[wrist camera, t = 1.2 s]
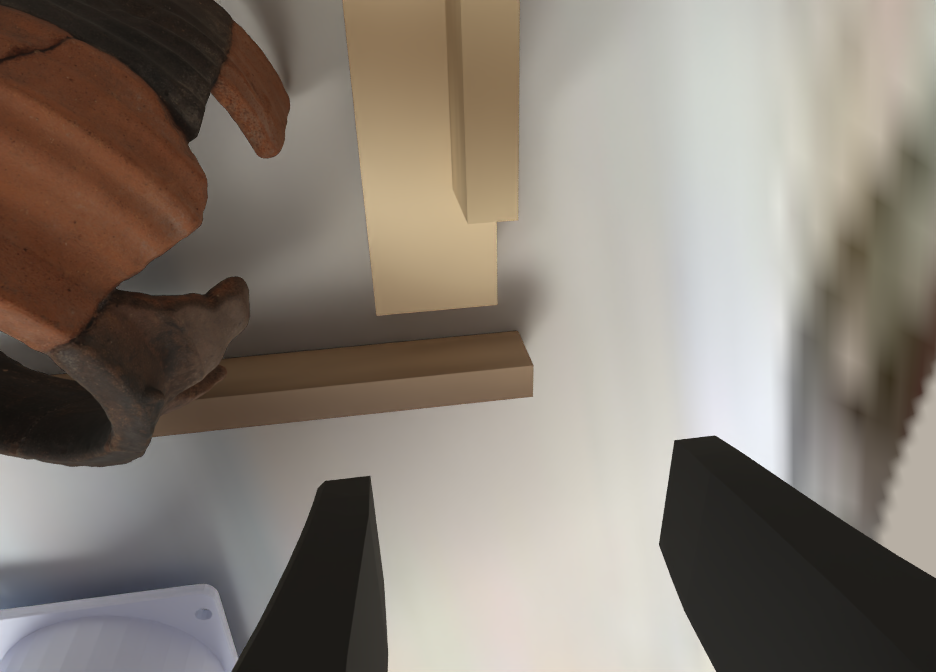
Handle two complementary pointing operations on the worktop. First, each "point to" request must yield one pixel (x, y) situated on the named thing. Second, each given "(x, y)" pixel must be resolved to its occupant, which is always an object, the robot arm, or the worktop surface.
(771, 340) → the worktop surface
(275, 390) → the wooden frame
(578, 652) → the worktop surface
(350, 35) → the beige wooden block
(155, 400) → the pottery mug
